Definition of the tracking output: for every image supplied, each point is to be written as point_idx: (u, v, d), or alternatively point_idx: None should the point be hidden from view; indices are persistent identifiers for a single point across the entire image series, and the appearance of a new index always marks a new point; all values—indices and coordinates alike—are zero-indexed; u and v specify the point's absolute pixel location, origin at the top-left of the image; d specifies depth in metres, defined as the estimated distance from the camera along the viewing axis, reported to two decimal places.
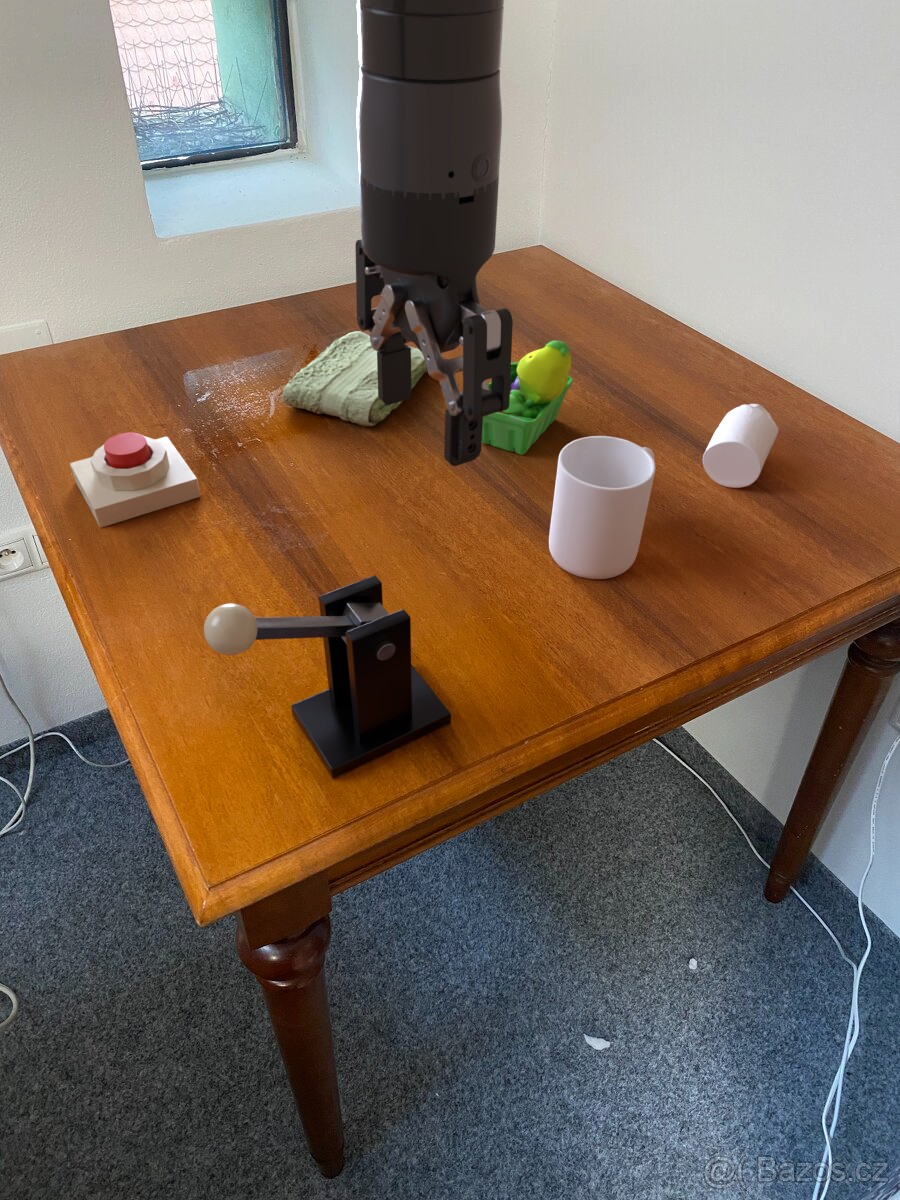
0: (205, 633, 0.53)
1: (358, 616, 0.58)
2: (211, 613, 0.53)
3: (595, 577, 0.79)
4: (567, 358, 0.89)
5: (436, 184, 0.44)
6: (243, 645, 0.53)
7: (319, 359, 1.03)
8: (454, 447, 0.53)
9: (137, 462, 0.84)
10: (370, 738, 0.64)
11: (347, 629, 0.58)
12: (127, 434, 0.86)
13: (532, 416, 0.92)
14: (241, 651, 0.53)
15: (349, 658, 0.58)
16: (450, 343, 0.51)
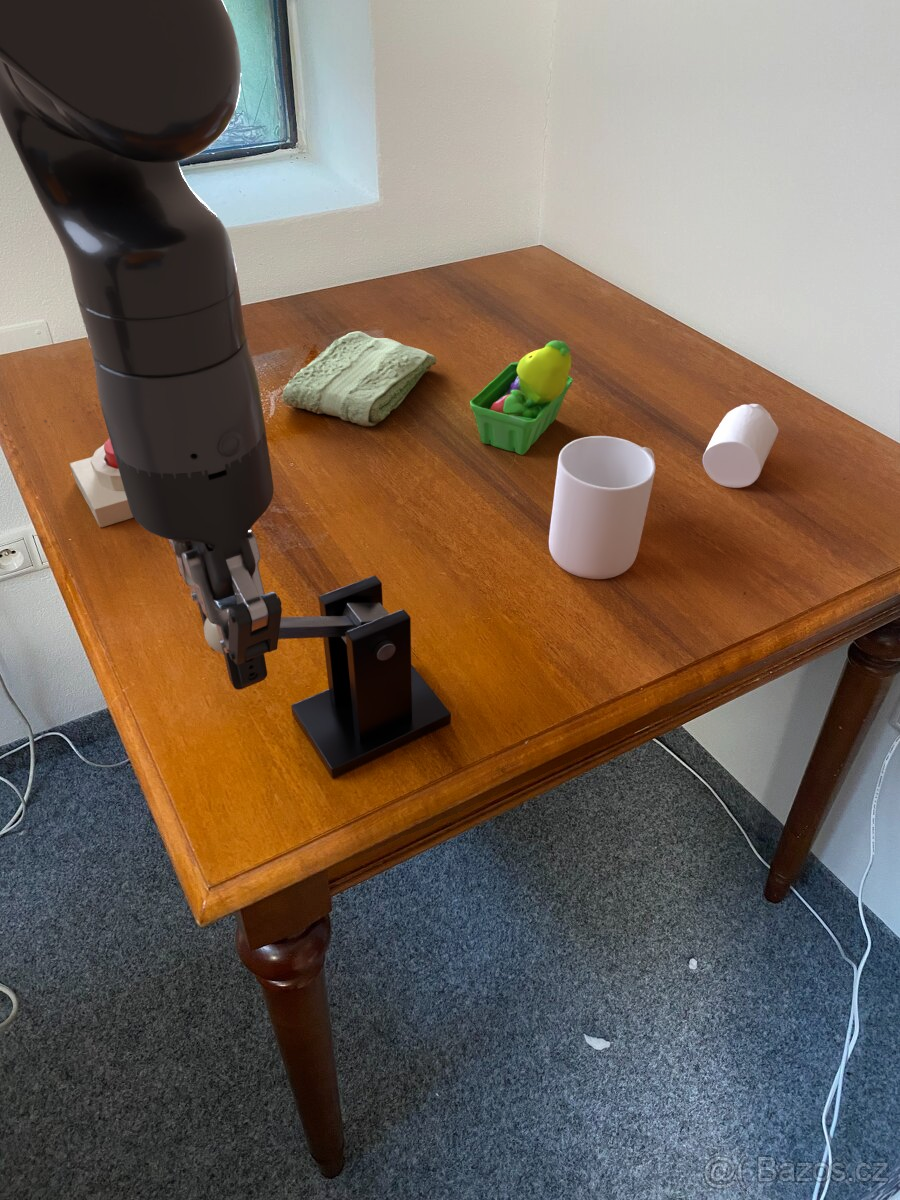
0: (205, 633, 0.53)
1: (358, 616, 0.58)
2: None
3: (595, 577, 0.79)
4: (567, 358, 0.89)
5: (179, 465, 0.41)
6: None
7: (319, 359, 1.03)
8: (236, 674, 0.53)
9: None
10: (370, 738, 0.64)
11: (347, 629, 0.58)
12: None
13: (532, 416, 0.92)
14: None
15: (349, 658, 0.58)
16: (233, 591, 0.48)
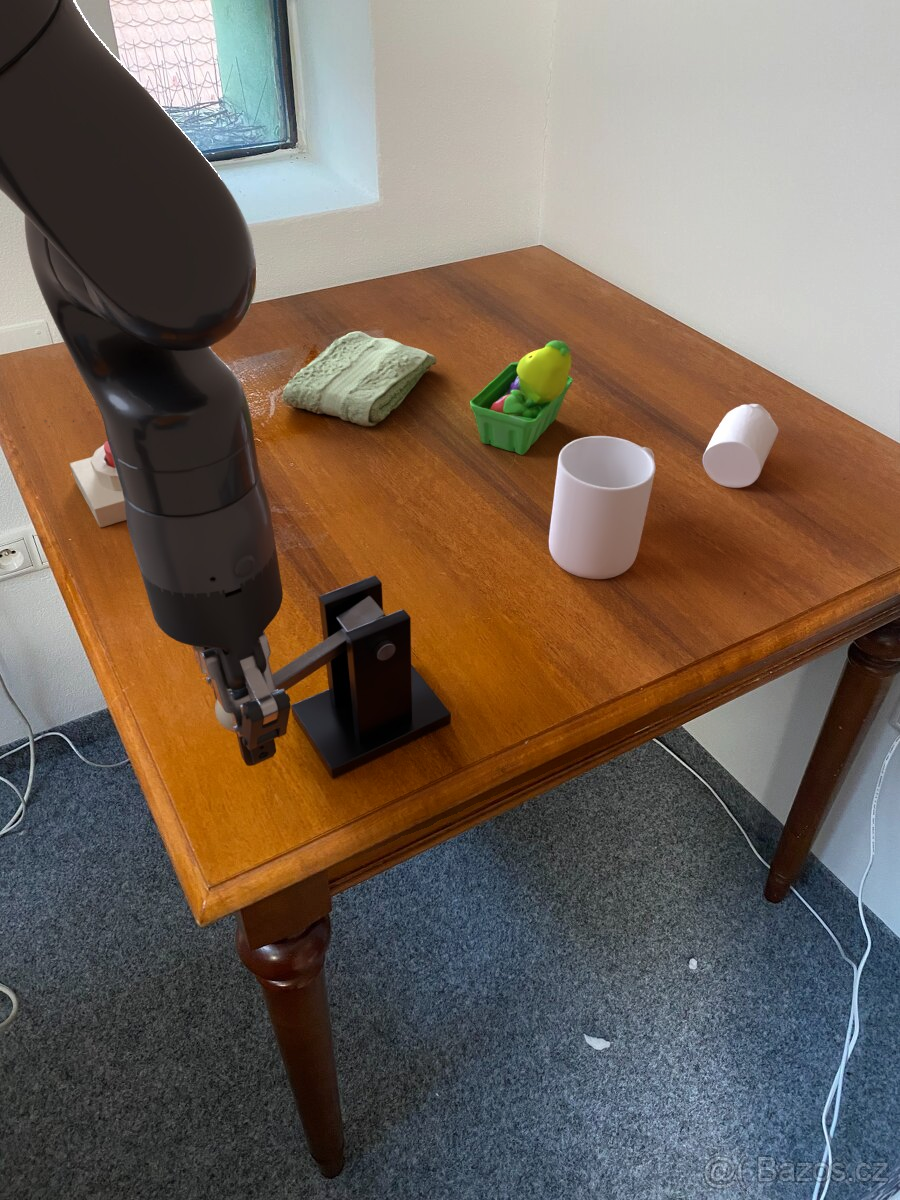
0: None
1: (347, 630, 0.59)
2: (215, 707, 0.58)
3: (595, 577, 0.79)
4: (567, 358, 0.89)
5: (199, 587, 0.46)
6: None
7: (319, 359, 1.03)
8: (248, 753, 0.58)
9: None
10: (370, 738, 0.64)
11: (346, 644, 0.59)
12: None
13: (532, 416, 0.92)
14: None
15: (349, 658, 0.58)
16: (245, 685, 0.53)
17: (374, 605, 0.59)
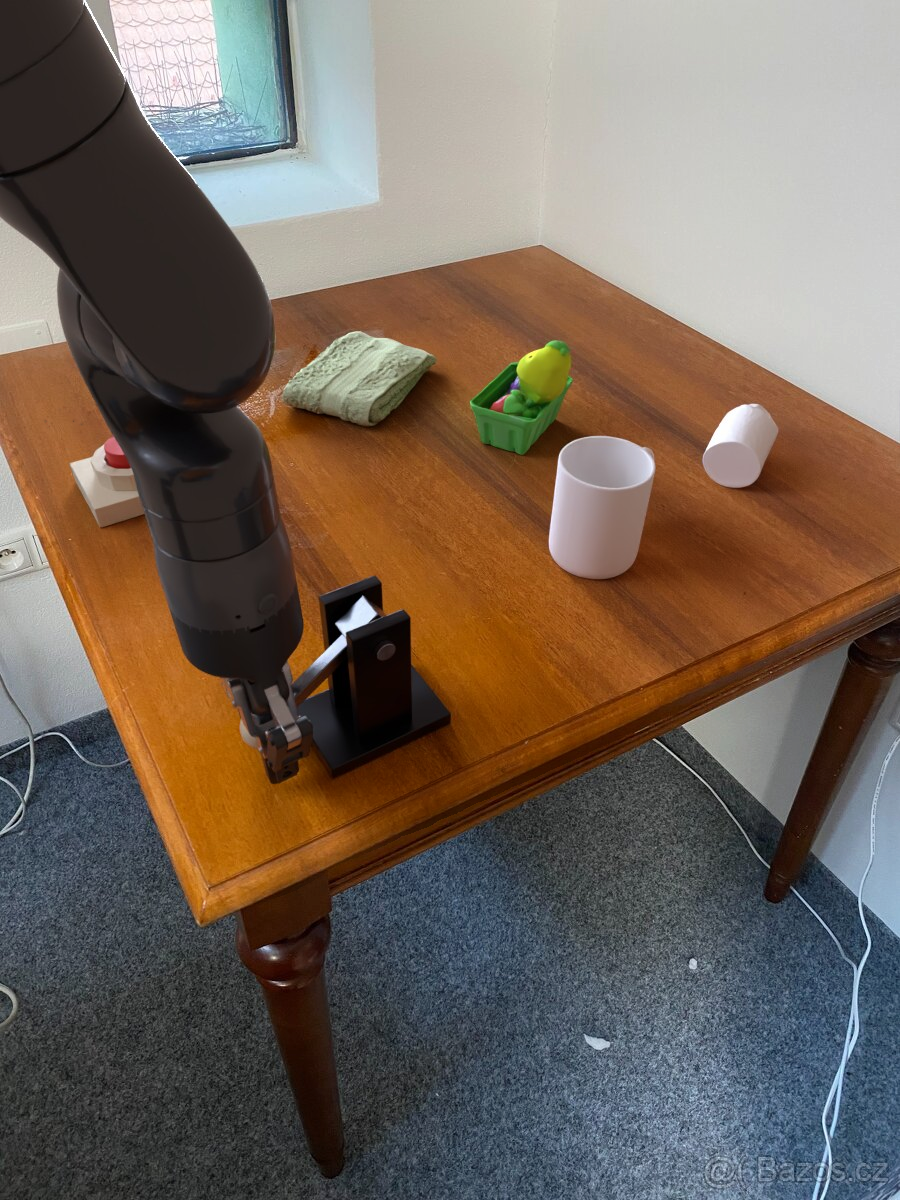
0: None
1: (345, 637, 0.59)
2: None
3: (595, 577, 0.79)
4: (567, 358, 0.89)
5: (225, 624, 0.48)
6: None
7: (319, 359, 1.03)
8: (272, 772, 0.61)
9: None
10: (370, 738, 0.64)
11: None
12: None
13: (532, 416, 0.92)
14: None
15: (349, 658, 0.58)
16: (270, 711, 0.56)
17: (368, 606, 0.59)
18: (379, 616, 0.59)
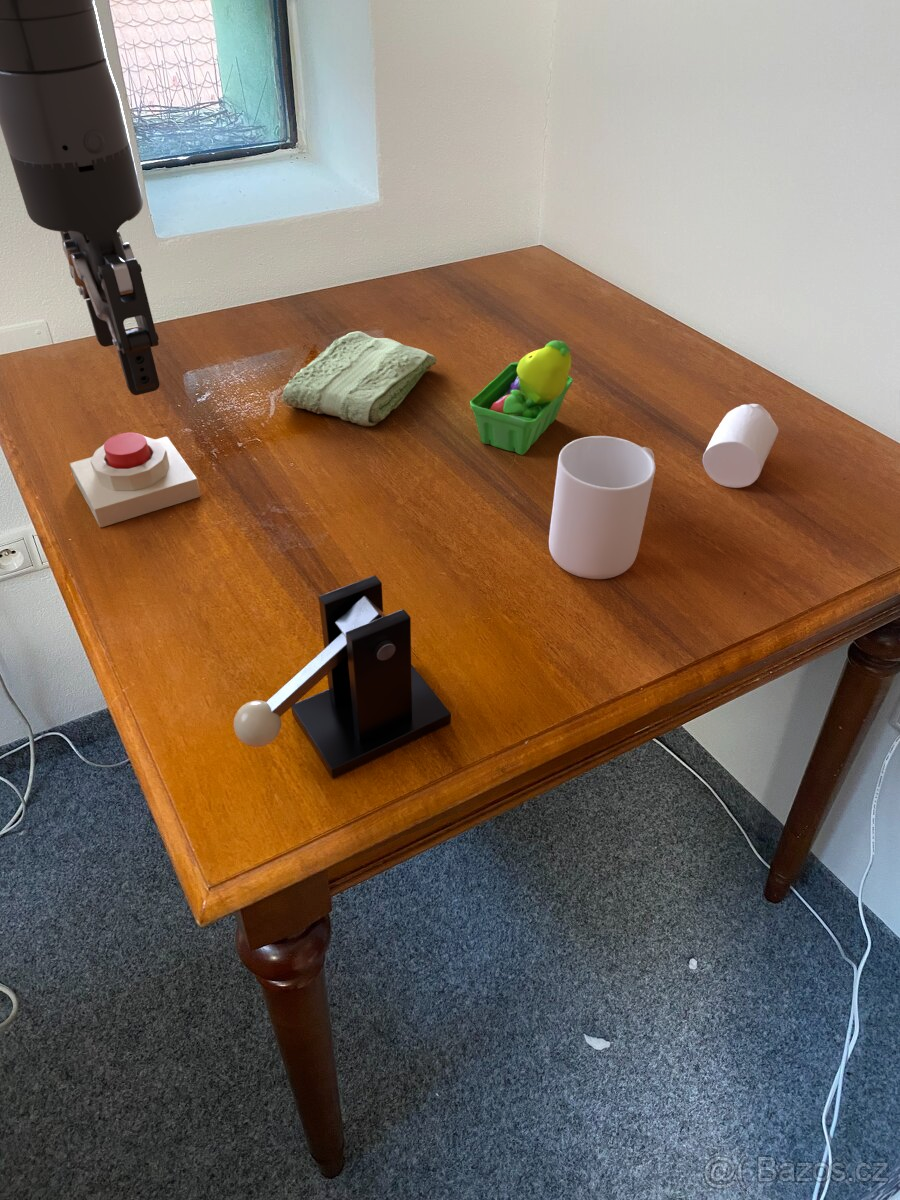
0: None
1: (345, 636, 0.59)
2: None
3: (595, 577, 0.79)
4: (567, 358, 0.89)
5: (54, 156, 0.54)
6: (269, 737, 0.59)
7: (319, 359, 1.03)
8: (131, 378, 0.64)
9: (137, 462, 0.84)
10: (370, 738, 0.64)
11: None
12: (127, 434, 0.86)
13: (532, 416, 0.92)
14: (274, 737, 0.60)
15: (349, 658, 0.58)
16: None
17: (369, 605, 0.59)
18: (380, 616, 0.59)
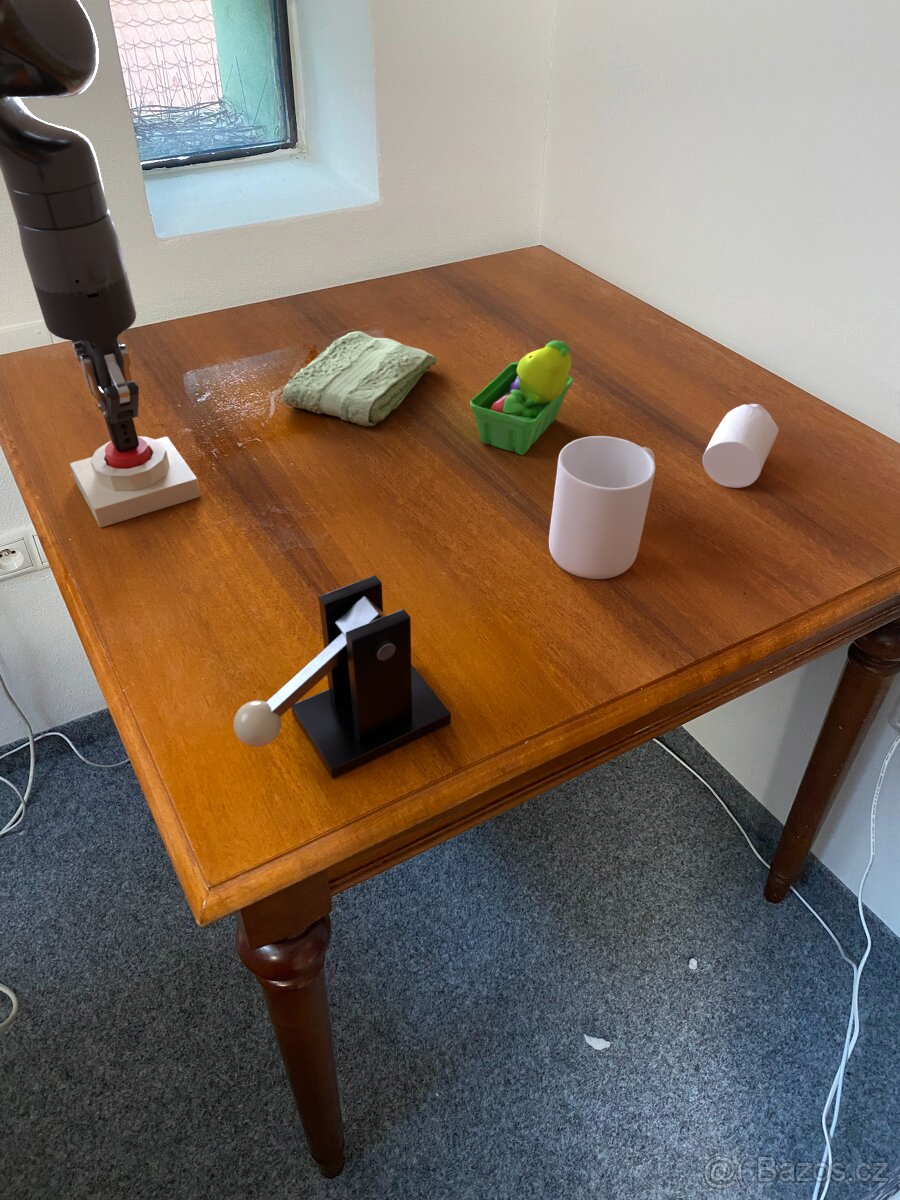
0: None
1: (345, 636, 0.59)
2: None
3: (595, 577, 0.79)
4: (567, 358, 0.89)
5: (68, 287, 0.70)
6: (269, 737, 0.59)
7: (319, 359, 1.03)
8: (117, 440, 0.83)
9: None
10: (370, 738, 0.64)
11: None
12: None
13: (532, 416, 0.92)
14: (274, 737, 0.60)
15: (349, 658, 0.58)
16: None
17: (369, 605, 0.59)
18: (380, 616, 0.59)
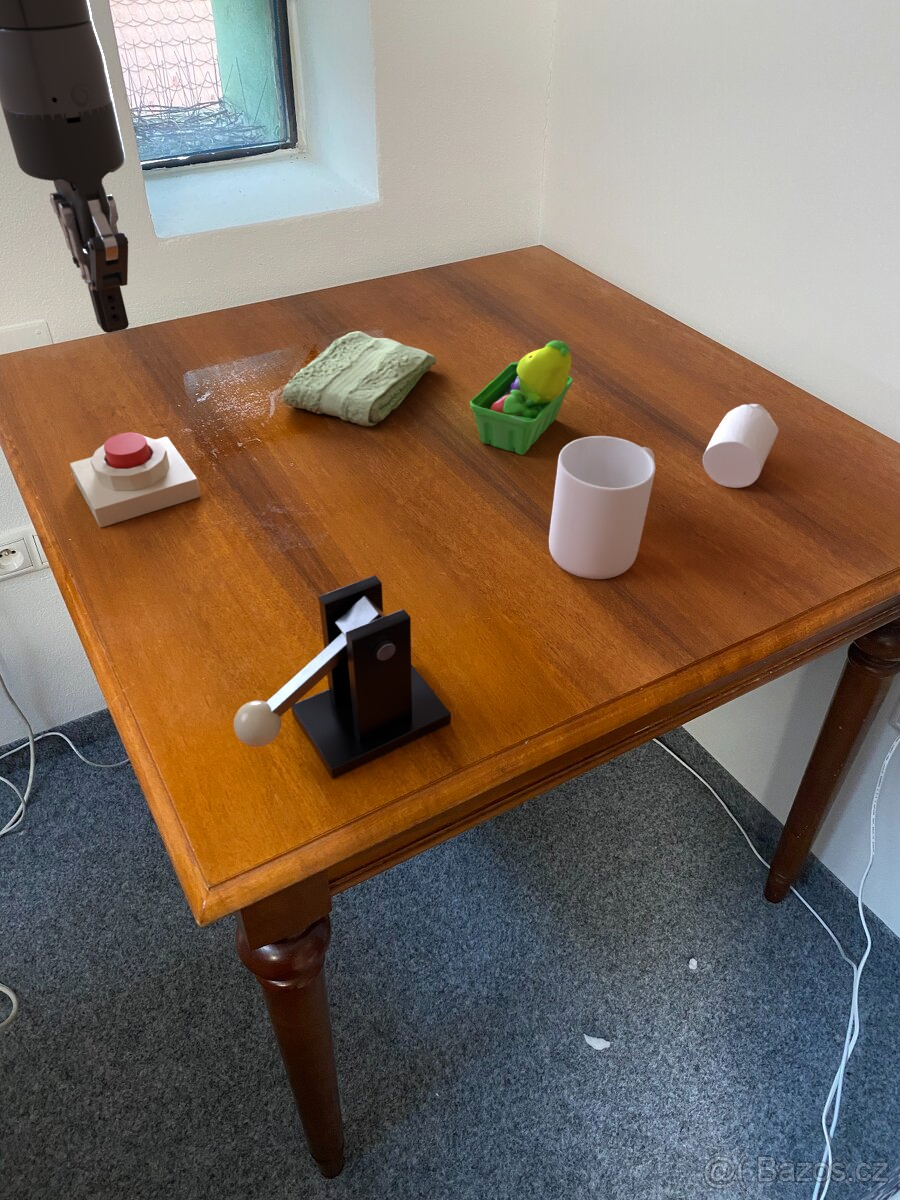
0: None
1: (345, 636, 0.59)
2: None
3: (595, 577, 0.79)
4: (567, 358, 0.89)
5: (44, 107, 0.59)
6: (269, 737, 0.59)
7: (319, 359, 1.03)
8: (103, 317, 0.72)
9: (137, 462, 0.84)
10: (370, 738, 0.64)
11: None
12: (127, 434, 0.86)
13: (532, 416, 0.92)
14: (274, 737, 0.60)
15: (349, 658, 0.58)
16: None
17: (369, 605, 0.59)
18: (380, 616, 0.59)
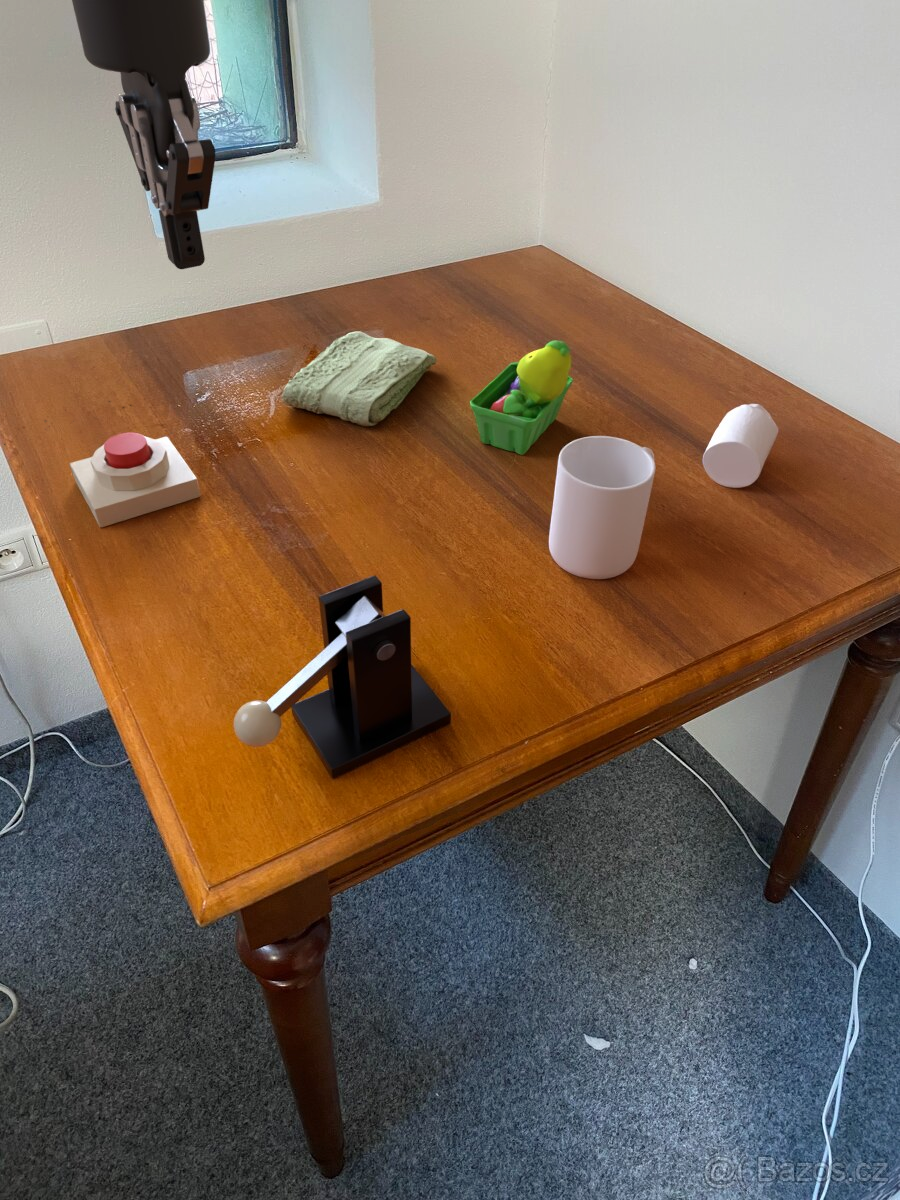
0: None
1: (345, 636, 0.59)
2: None
3: (595, 577, 0.79)
4: (567, 358, 0.89)
5: None
6: (269, 737, 0.59)
7: (319, 359, 1.03)
8: (176, 250, 0.61)
9: (137, 462, 0.84)
10: (370, 738, 0.64)
11: None
12: (127, 434, 0.86)
13: (532, 416, 0.92)
14: (274, 737, 0.60)
15: (349, 658, 0.58)
16: None
17: (369, 605, 0.59)
18: (380, 616, 0.59)
